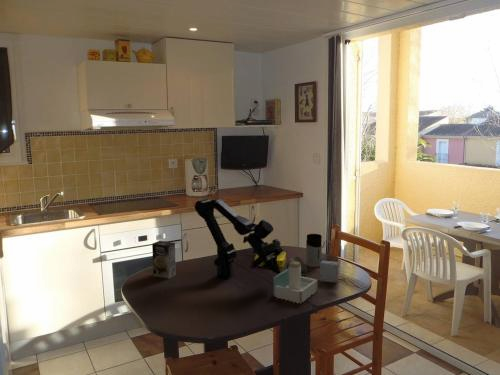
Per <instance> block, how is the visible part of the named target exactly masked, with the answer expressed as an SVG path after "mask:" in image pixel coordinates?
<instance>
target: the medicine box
mask: <svg viewBox="0 0 500 375" xmlns="http://www.w3.org/2000/svg"><path fill="white" fill-rule="evenodd" d="M339 265H340V264H339V261H330V260H329V261H328V260H322V261H321V263H320V266H319V281H320V282H326V283H335V284H338V281H339Z"/></svg>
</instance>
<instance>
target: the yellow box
mask: <svg viewBox="0 0 500 375" xmlns="http://www.w3.org/2000/svg"><path fill="white" fill-rule="evenodd" d="M258 257H259V256H258V255H257V254H255V257H254V261H255V260H256V259H257V258H258ZM286 261H287V252H286V251H283V252H282V253H281V254H279V255H278V257H277V264H278V267H279V269H281V268H284V267H285V264H286ZM263 265H264V264H263V262H262V263H261V264H260V265H259V266H261V267H260V268H263V267H262V266H263Z"/></svg>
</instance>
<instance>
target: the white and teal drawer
mask: <svg viewBox="0 0 500 375" xmlns="http://www.w3.org/2000/svg"><path fill="white" fill-rule="evenodd" d="M272 280H273V282H272V283H273V285H272V286H273V287H272V289H273V290H272V291H273V292H272V293H273V294H272V295H273V296H274V297H275V286H276V285H277V286H281V287H285V288H289V268H288V269H287V268H286V269H285V270H283V271H282V272H281V271H280V273H279V274H277V275H275V276H273V279H272ZM309 284H310V283H308V282H304V281H301V290H302V289H303V288H305V287H306V286H307V285H309Z"/></svg>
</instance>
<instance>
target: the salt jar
mask: <svg viewBox="0 0 500 375" xmlns="http://www.w3.org/2000/svg"><path fill="white" fill-rule="evenodd" d="M289 288H290V289H294V290H298V291H300V290H301V265H300V262H296V261H293V262H290V263H289Z"/></svg>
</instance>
